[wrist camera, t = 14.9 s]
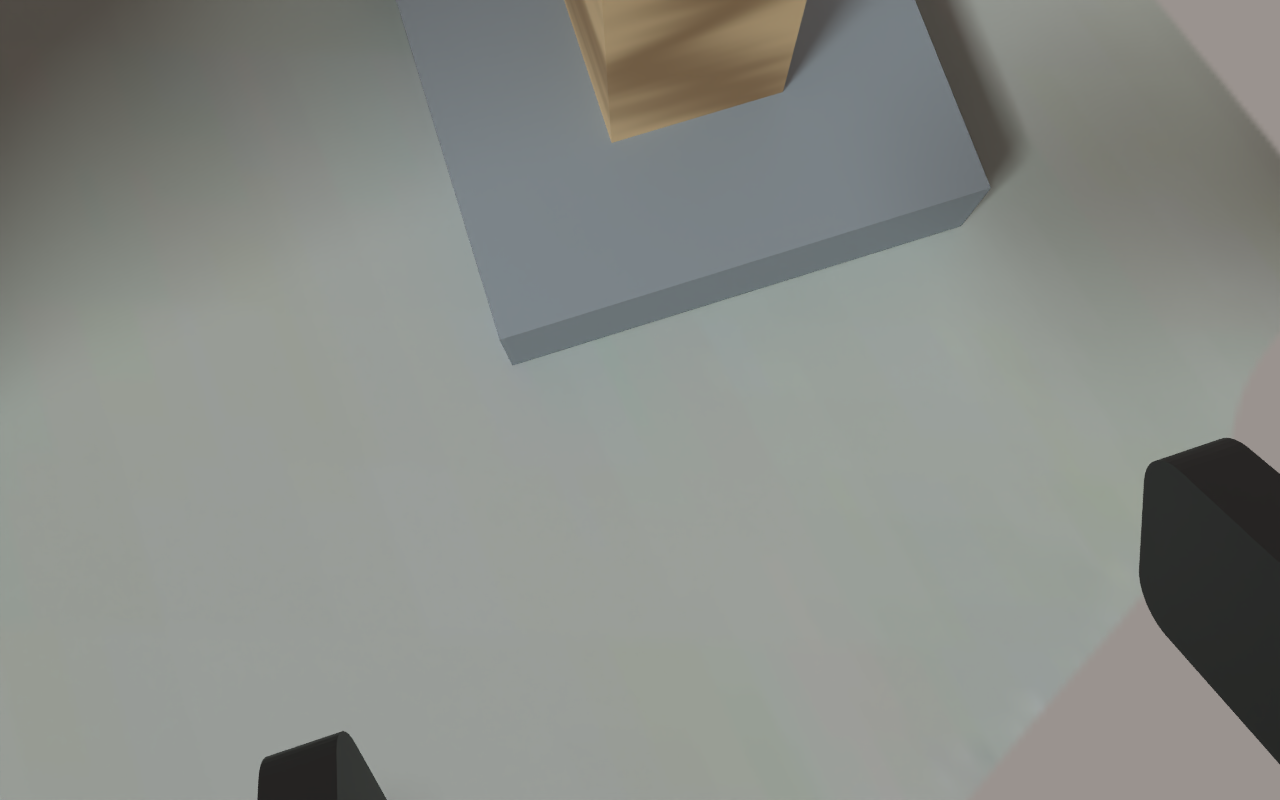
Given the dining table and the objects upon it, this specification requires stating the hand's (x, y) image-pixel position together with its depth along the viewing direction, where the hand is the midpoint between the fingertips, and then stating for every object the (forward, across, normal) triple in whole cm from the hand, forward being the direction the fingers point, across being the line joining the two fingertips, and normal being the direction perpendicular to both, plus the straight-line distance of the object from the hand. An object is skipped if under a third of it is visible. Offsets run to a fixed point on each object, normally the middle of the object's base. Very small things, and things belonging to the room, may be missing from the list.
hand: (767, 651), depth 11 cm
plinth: (+26, -5, +4) cm, 27 cm away
